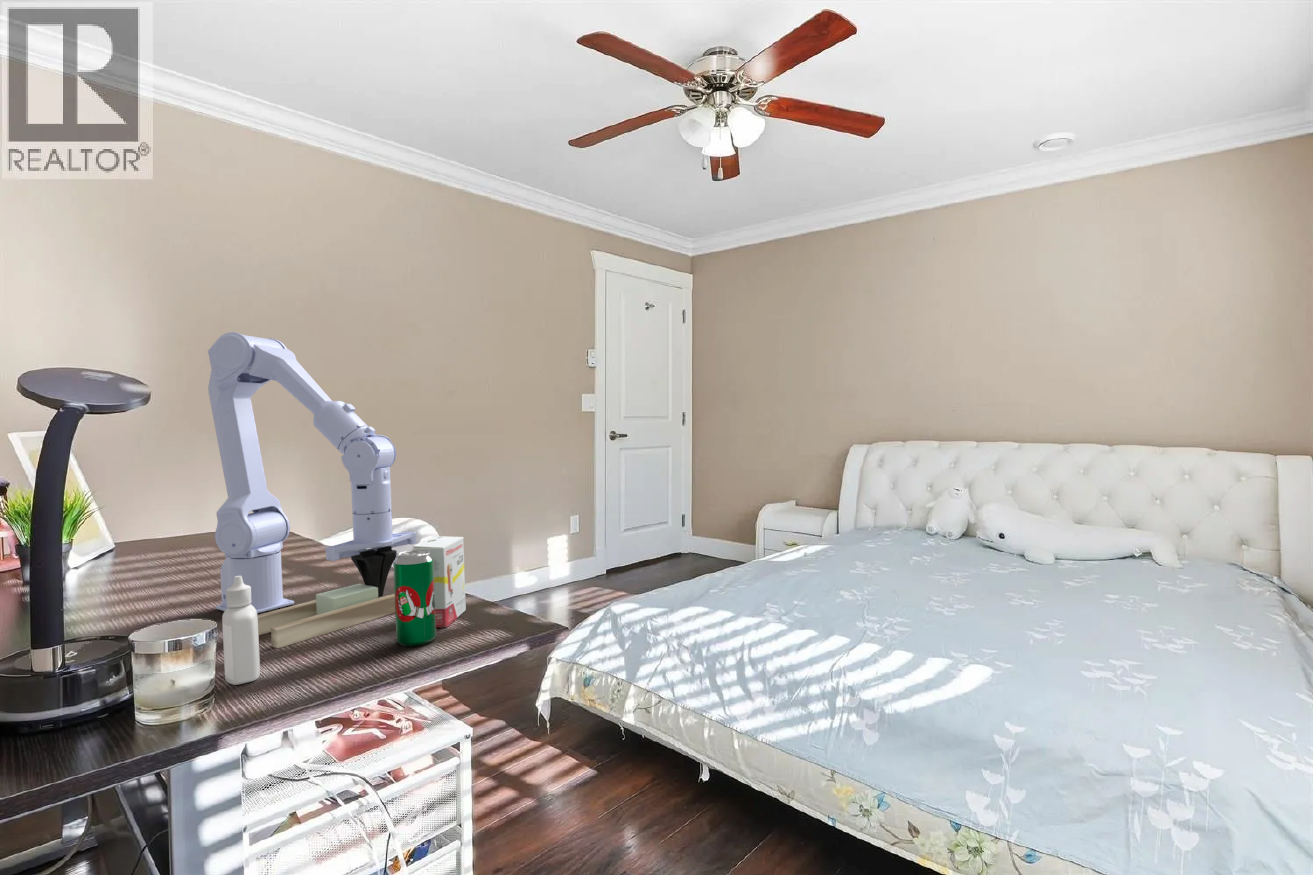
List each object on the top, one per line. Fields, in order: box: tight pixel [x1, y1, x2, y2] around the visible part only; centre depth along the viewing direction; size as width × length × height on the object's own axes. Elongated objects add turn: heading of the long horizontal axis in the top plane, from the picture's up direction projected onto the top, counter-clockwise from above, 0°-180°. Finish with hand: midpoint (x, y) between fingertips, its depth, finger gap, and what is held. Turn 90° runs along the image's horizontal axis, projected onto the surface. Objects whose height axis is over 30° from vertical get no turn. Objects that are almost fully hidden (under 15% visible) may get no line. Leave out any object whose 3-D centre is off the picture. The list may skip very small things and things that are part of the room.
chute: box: [257, 593, 395, 649], centre depth 95 cm, size 10×20×2 cm, turn 147°
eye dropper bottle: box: [221, 576, 261, 686], centre depth 75 cm, size 4×6×12 cm
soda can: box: [392, 549, 437, 648], centre depth 86 cm, size 5×5×12 cm
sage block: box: [315, 583, 378, 615], centre depth 97 cm, size 5×7×4 cm
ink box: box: [411, 535, 467, 628], centre depth 95 cm, size 9×5×12 cm, turn 177°
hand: (375, 596), depth 102 cm, fingers closed
